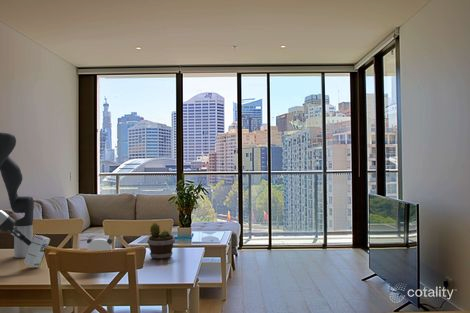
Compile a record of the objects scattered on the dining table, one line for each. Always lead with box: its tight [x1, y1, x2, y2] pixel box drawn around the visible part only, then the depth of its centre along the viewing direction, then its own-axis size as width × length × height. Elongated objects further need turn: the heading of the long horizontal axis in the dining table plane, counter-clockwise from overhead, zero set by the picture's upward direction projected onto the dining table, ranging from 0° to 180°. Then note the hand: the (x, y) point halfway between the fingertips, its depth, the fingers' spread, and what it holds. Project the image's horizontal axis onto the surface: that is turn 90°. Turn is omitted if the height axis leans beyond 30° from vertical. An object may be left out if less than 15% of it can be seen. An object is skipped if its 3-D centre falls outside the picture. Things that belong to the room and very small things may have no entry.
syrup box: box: [23, 234, 51, 268], centre depth 214 cm, size 6×6×14 cm
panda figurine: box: [86, 237, 114, 251], centre depth 208 cm, size 12×11×15 cm
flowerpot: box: [146, 221, 176, 261], centre depth 233 cm, size 14×15×20 cm
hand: (30, 243), depth 212 cm, fingers closed
